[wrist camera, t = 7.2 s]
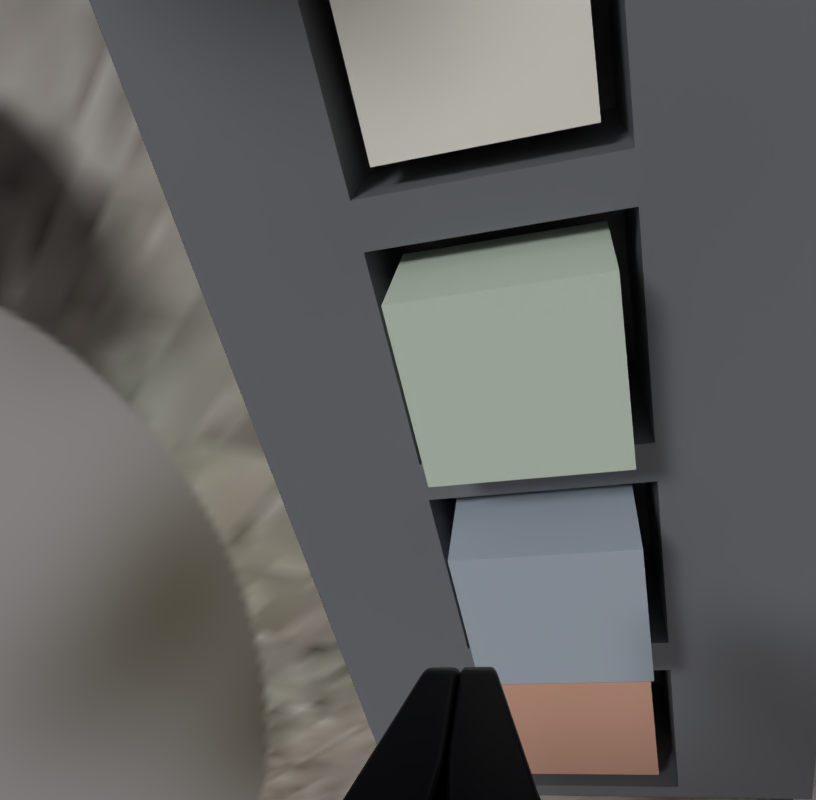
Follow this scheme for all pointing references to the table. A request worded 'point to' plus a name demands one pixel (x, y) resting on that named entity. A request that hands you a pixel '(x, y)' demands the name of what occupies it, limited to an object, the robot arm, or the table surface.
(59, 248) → the table surface
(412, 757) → the robot arm
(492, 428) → the key sage
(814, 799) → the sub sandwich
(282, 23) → the keypad
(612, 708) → the key terracotta
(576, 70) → the key ivory
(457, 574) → the key slate
